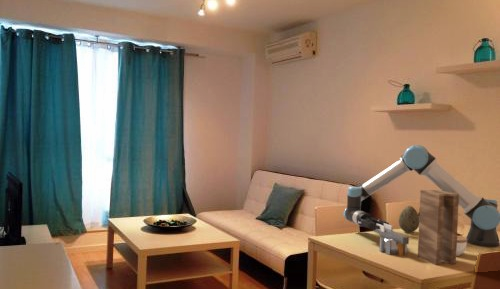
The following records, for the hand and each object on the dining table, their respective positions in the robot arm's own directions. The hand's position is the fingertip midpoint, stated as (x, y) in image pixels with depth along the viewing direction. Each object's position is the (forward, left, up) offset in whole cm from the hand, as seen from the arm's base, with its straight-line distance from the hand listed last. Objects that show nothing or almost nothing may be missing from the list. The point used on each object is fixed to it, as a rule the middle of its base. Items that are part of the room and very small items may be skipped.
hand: (388, 229), depth 201 cm
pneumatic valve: (-46, -50, -10) cm, 68 cm away
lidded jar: (-29, +7, -10) cm, 31 cm away
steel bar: (0, +2, -3) cm, 4 cm away
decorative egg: (-27, -34, -10) cm, 45 cm away
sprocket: (-1, +4, -9) cm, 11 cm away
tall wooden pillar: (-15, +17, -9) cm, 25 cm away
